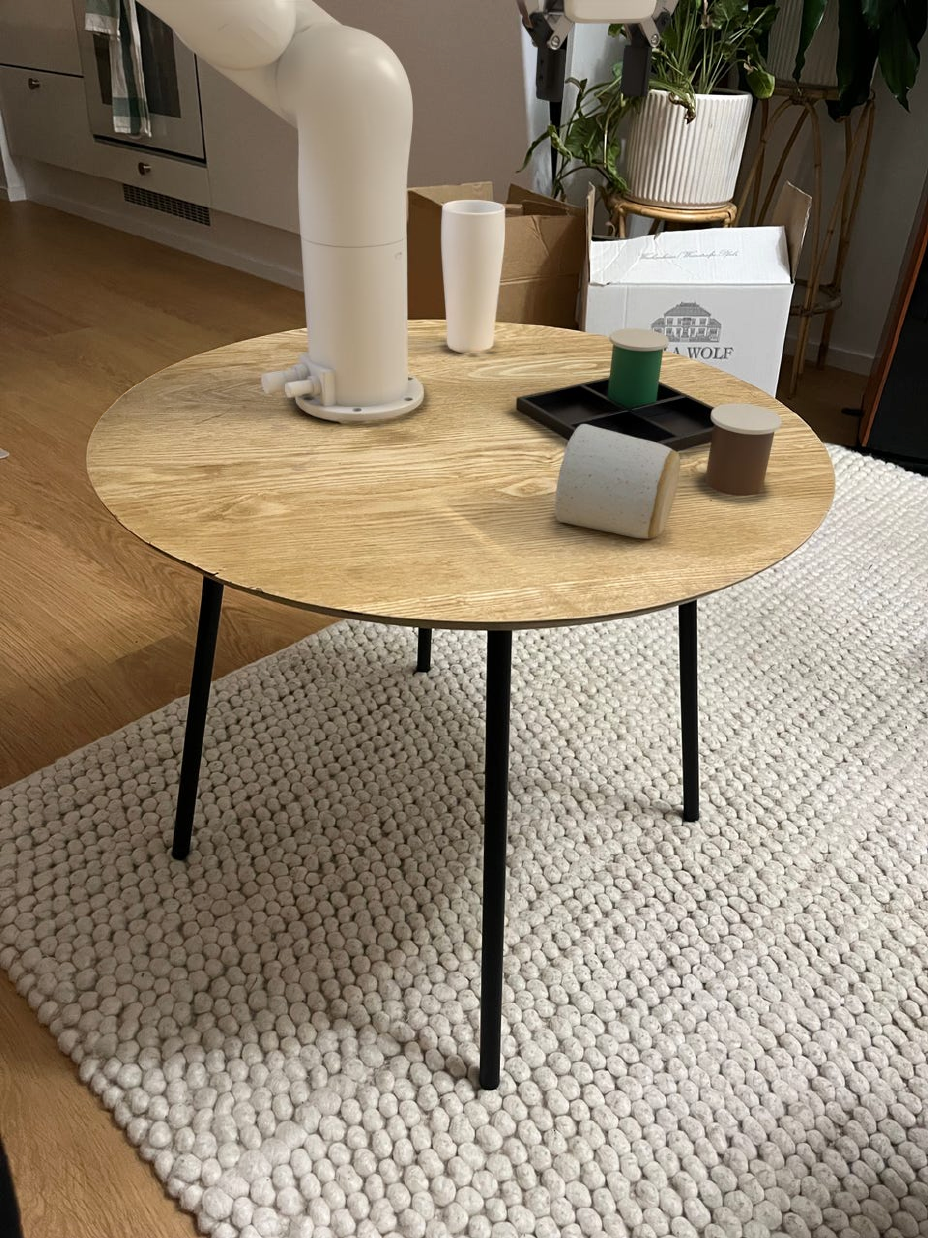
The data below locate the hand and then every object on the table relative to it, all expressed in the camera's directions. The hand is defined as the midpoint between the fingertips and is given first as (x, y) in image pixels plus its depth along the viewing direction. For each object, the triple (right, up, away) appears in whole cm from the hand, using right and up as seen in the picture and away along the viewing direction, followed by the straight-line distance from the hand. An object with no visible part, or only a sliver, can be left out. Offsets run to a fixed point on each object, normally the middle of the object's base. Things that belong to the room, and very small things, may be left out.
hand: (592, 97), depth 90 cm
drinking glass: (-11, -17, +22) cm, 30 cm away
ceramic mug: (0, -39, -11) cm, 41 cm away
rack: (+4, -29, +4) cm, 29 cm away
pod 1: (+5, -26, +8) cm, 27 cm away
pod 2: (+11, -36, -6) cm, 38 cm away
